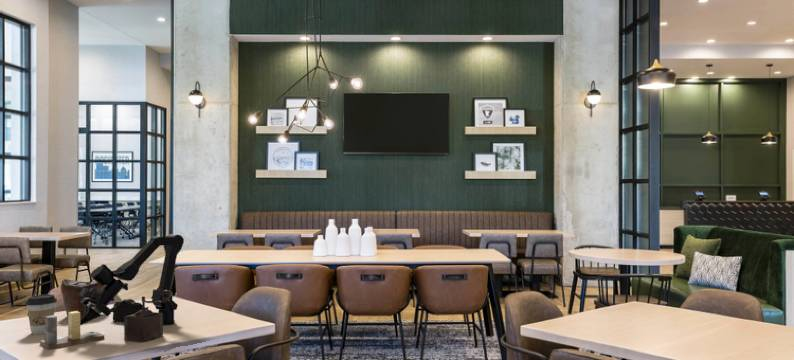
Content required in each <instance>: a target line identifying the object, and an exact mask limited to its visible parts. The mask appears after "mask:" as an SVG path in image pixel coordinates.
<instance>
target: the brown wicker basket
mask: <svg viewBox="0 0 794 360" xmlns="http://www.w3.org/2000/svg"><path fill="white" fill-rule="evenodd" d="M105 286H106V285H102V286H101V285H100V284H99V283H97V282H96V281H95V280H94V279H93V278H91V279H90V280H89V281H83V280H71V279H66V278H63V279H62V280H61V284H60V293H61V295H62V299H63V304H64V307H65V308H64V309H65V312H66V316H67V318H68V312H74V311H78V312H80V319H81V317H82V315H83V313H84V311H85V307H84V305H83V304H82V303H81V302H80V301H81V300H82V299H83V298H86V297H82V296H80V293H81V291H82V289H83V288H85V289H88V290H90V289H91V288H94V289H97V291H98V290H102V289H103V288H104V287H105ZM87 298H88V297H87ZM89 299H90V298H89Z"/></svg>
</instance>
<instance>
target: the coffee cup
mask: <svg viewBox="0 0 794 360" xmlns="http://www.w3.org/2000/svg"><path fill="white" fill-rule="evenodd" d="M57 302H58V299H57V298H56V297H55V294H48V293H46V294H38V295H36V294H35V295H32V296H29V297H28V298H27V300H26V301H25V306H26V309H27V314H28V315H27V316H28V321H29V329H30V332H31V334H32V335H43V334H44V335H45V316H51V315H55V311H56V303H57Z"/></svg>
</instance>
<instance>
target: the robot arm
mask: <svg viewBox="0 0 794 360" xmlns="http://www.w3.org/2000/svg"><path fill="white" fill-rule="evenodd" d="M184 243H185V239H184V237H183V236H182V235H181V234H173V233H172V234H170V233H169V234H168V235H166V236H152V237H150V239H149V241H147V242H146V244H144V246H143V247H142V248H141V249H140V250H138V252H136V254H134V256H133V257H132V258H131V259H130V260H128V261H126V262H124V263H122V264H121V265H120V266H118V267H117V269H114V270H112V269H111V268H109V267H108V266H107V264H105V263H104V264H103V263H101V265H99V266H98V267H96V268H95V269H93V270H92V271H91V273H90V275H89V277H90V278H91V279H94V280H93V281H96V282H97V283H99V284H100V285H101V286H102V285H106V286H105V287H104V288H103V289H102V290H98V291H97V289H94V288H91V289H90V290H88V289H85V288H83V289H82V291H81V293H80V296H82V297H86V298H83V299H82V300H81V301H80V302H81V303H82V304H83V305H84V307H85V311H84V313H83V315H82V317H81V318H80V326H83V325H85V324H87V323H89V322H91V321H93V320H94V319H97V318H99V317H101V316H102V315H101V314H103V316H105V317H106V318H107V317H109V316H110V315H111V314H112V312H111V308H109V306H108V305H109V304H110V302H114V301H115V297H116V296H117V295H118V294H119V293H120V292H121V290H124V291H128V290H129V284H128V283H127V282H128V281H133V280H134V279H135V277H136V276H137V275H138V273H139V271H140V268H141V266H142V265H143V264H144V263H145V262H146V261H147V260H148V259H149V258H150V257H151V256H152V255H153V254H154V252H155V251H157V249H158V248H159V247H161V246H163V250H164V253H165V255H164V260H163V265H162V271H161V275H160V281H159V285H158V287H157V288H156V289H152V295H151V298H150V299H151V301H162V299H163V295H162V292H163V291H164V290H170V291H171V292H172V295H171V296H170V298H169V301H167V302H165V303H164V302H163V303H152V304H153V305H154V307H155V309H156V310H158V312H157V313H163V326H165V325H166V326H167V325H168V326H169V325H174V324H175V321H176V320H175V311H176V310H177V309H178V305H179V304H178V303H176V301H174V300H173V295H174V294H173V290H172V283H173V277H174V274H175V273H174V272H175V267H176V262H177V258H178V255H179V253H180V252H181V250H182V248H183V247H184ZM124 281H127V282H124ZM87 297H88V298H87ZM89 298H90V299H89Z"/></svg>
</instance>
